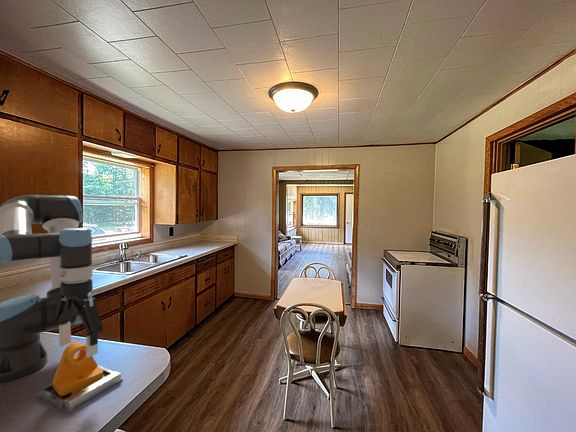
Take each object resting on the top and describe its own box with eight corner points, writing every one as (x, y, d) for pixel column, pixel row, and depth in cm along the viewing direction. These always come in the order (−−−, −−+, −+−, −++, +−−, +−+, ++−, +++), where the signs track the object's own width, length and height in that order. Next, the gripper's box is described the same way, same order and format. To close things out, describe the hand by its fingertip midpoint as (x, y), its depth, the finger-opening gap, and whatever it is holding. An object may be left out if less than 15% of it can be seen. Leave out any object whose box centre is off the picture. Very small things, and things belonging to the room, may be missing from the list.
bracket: (60, 399, 76) (59, 357, 75) (52, 389, 80) (51, 349, 79) (104, 379, 84) (103, 341, 84) (95, 371, 89) (94, 335, 88)
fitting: (37, 396, 78) (37, 388, 78) (93, 368, 91) (92, 361, 91) (67, 413, 72) (67, 403, 71) (122, 380, 85) (122, 372, 85)
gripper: (38, 277, 83) (40, 345, 84) (88, 290, 72) (90, 367, 73) (67, 272, 89) (68, 335, 90) (116, 282, 79) (117, 353, 80)
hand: (78, 349), depth 82 cm, fingers open, 13 cm apart
